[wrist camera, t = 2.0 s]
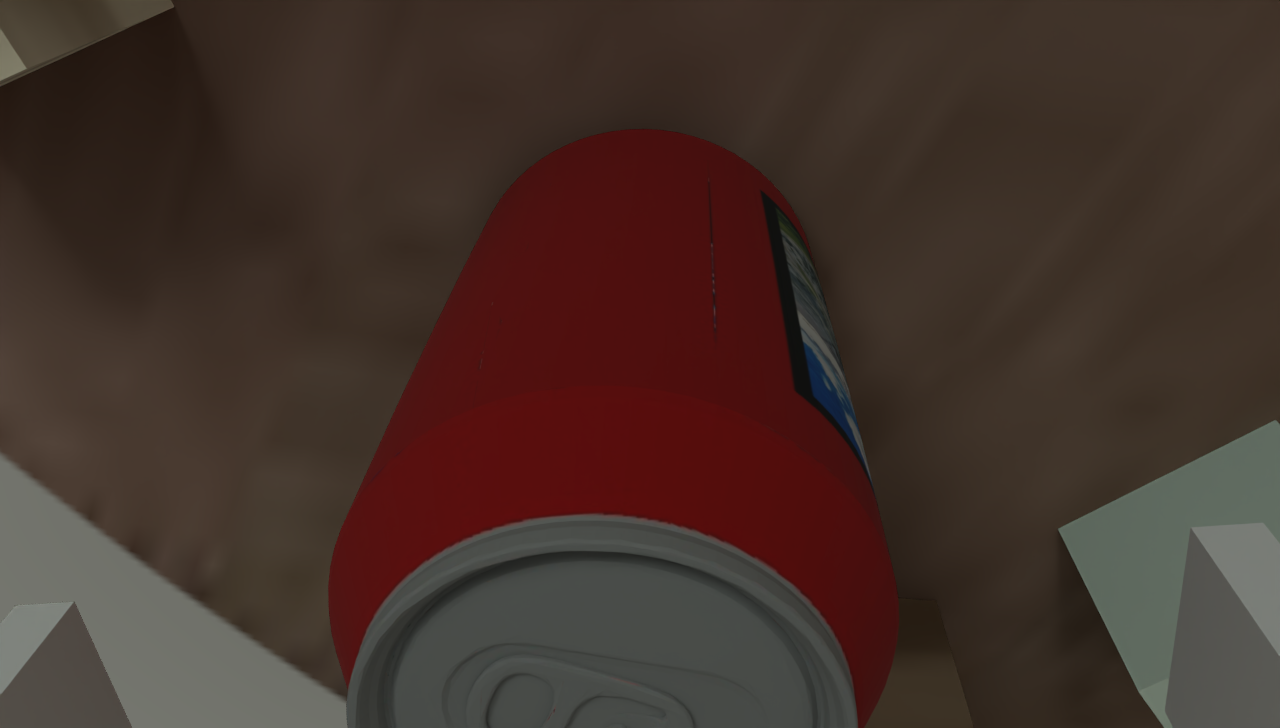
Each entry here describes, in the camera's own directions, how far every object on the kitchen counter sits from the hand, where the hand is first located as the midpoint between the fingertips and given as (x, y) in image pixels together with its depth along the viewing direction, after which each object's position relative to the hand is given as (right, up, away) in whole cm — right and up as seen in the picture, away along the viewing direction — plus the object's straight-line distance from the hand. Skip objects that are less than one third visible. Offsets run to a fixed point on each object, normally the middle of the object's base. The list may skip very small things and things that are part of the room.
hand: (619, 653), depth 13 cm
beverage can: (0, +5, +9) cm, 10 cm away
